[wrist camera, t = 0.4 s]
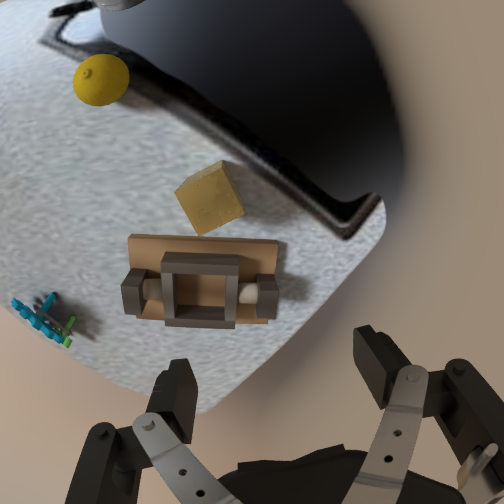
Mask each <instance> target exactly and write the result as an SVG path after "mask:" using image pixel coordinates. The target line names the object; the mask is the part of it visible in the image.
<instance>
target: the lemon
mask: <svg viewBox="0 0 504 504" xmlns="http://www.w3.org/2000/svg"><path fill="white" fill-rule="evenodd" d="M129 77H130V76H129V71H128V68H127V66H126V64H125V63H124V62H123V61H122V60H121V59H119V58H117V57H115V56H113V55H108V54H99V55H94V56H92V57H89V58H88V59H86V60H85V61H83V62H82V63H81V64H80V65H79V67H78V68H77V70H76V72H75V74H74V78H73V88H74V92H75V93H76V95H77V97H78V98H79V99H80V100H82V101H83V102H84V103H86V104H89V105H92V106H105V105H109V104H111V103H113V102H115V101H117V100H118V99H119V98H120V97H121V96H122V95H123V94H124V93H125V91H126V89H127V87H128V84H129Z"/></svg>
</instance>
